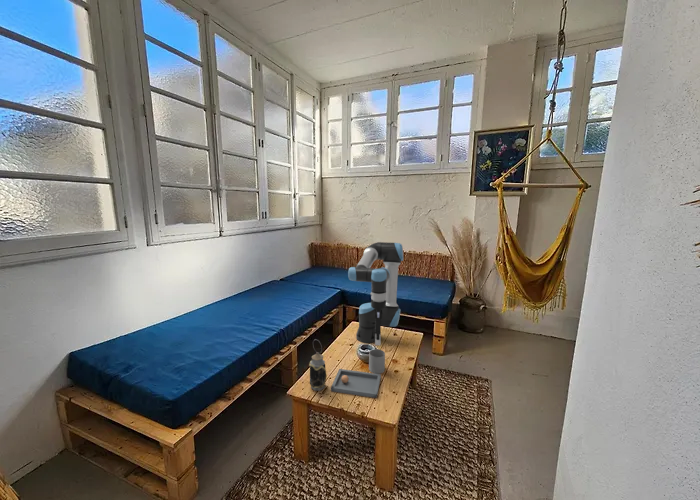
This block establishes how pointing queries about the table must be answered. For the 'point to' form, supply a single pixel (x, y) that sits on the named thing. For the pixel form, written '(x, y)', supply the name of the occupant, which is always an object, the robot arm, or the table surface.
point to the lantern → (317, 371)
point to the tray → (357, 383)
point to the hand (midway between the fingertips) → (377, 338)
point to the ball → (344, 378)
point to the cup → (376, 361)
